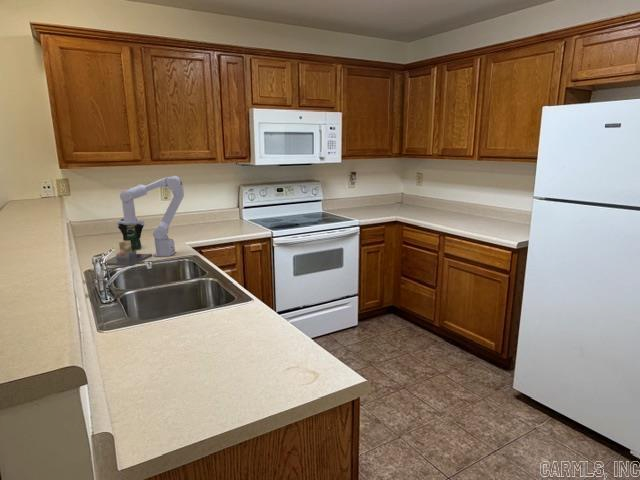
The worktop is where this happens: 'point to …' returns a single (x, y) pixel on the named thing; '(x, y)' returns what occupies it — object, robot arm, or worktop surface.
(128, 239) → the coffee jar
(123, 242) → the column
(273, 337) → the worktop surface
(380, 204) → the worktop surface
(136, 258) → the jack base
